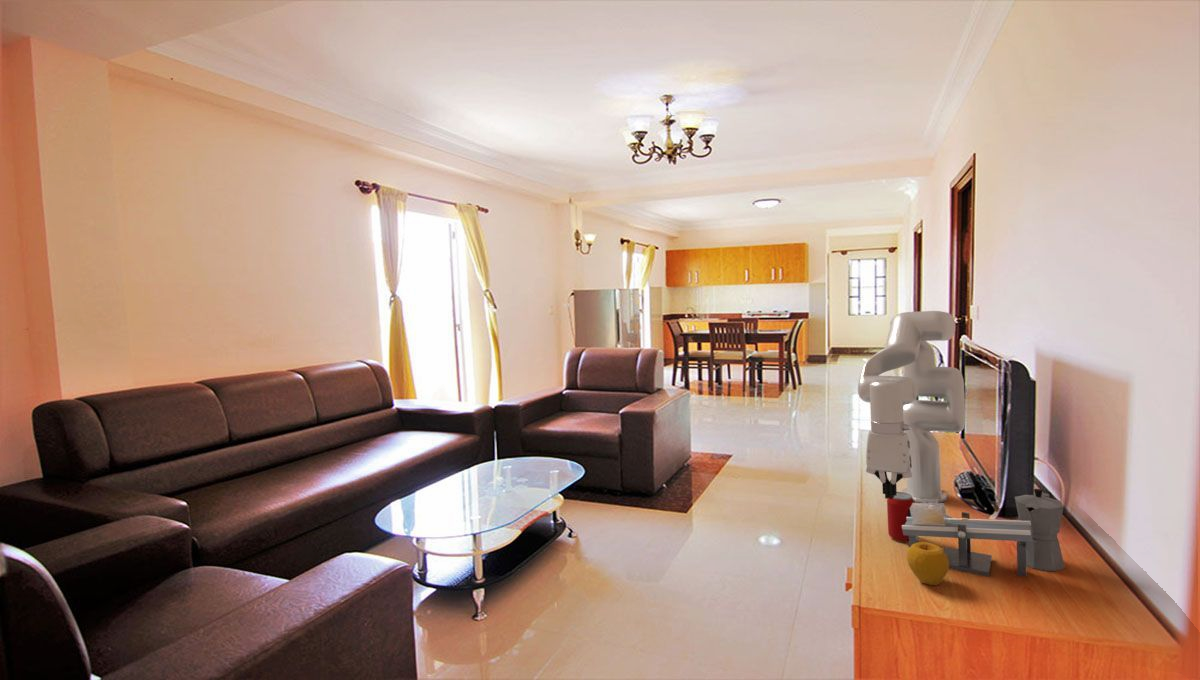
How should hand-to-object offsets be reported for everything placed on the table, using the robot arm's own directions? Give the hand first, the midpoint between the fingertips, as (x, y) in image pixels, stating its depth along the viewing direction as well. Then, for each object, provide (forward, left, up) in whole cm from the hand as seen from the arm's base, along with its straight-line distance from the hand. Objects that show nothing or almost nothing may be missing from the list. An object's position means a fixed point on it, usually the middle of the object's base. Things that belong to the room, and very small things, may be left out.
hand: (889, 497), depth 143 cm
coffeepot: (-10, +31, -14) cm, 35 cm away
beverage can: (-8, +1, -14) cm, 17 cm away
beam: (0, +16, -6) cm, 17 cm away
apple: (+14, +10, -14) cm, 22 cm away
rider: (-1, +9, -6) cm, 11 cm away
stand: (-1, +16, -14) cm, 21 cm away
